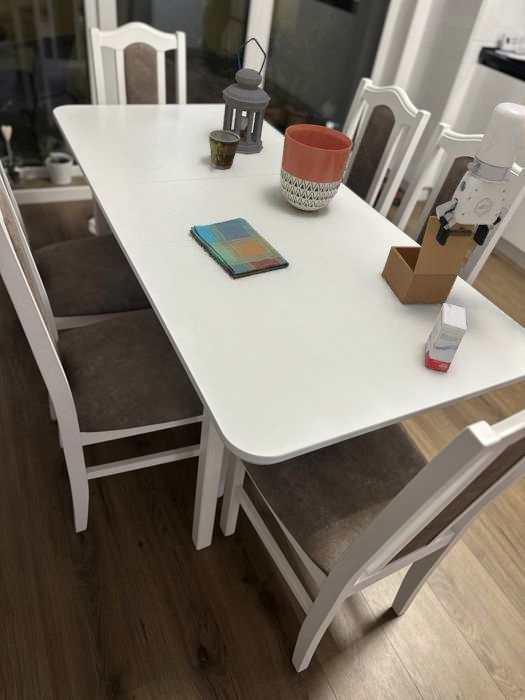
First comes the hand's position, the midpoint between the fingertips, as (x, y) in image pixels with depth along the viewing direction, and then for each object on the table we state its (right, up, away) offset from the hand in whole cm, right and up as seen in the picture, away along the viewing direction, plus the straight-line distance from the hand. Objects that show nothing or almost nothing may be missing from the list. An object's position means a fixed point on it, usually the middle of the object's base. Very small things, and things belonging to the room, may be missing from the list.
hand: (458, 242), depth 121 cm
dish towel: (-50, +2, +20) cm, 54 cm away
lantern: (-52, +51, +77) cm, 106 cm away
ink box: (-6, -26, -2) cm, 27 cm away
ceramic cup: (-58, +37, +59) cm, 91 cm away
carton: (-5, -8, +19) cm, 21 cm away
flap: (-2, 0, +5) cm, 5 cm away
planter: (-31, +20, +46) cm, 59 cm away
